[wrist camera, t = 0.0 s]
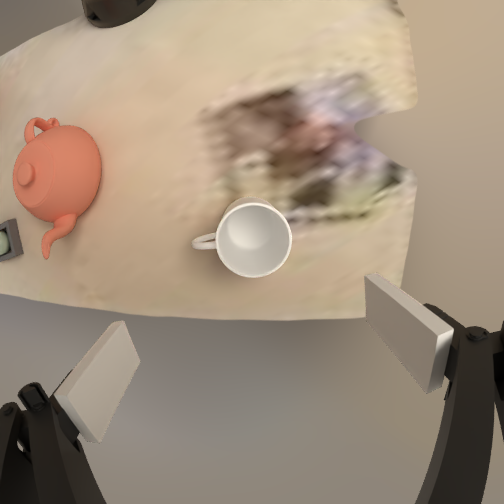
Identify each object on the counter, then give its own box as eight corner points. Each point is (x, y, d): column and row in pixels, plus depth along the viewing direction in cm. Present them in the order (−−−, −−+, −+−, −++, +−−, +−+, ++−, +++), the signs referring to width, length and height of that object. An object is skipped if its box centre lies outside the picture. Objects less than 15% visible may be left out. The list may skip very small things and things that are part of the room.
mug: (202, 257, 42) (187, 284, 30) (196, 200, 40) (178, 206, 28) (281, 251, 42) (295, 277, 30) (277, 194, 40) (292, 197, 28)
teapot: (125, 227, 40) (85, 243, 28) (57, 253, 41) (13, 273, 29) (96, 102, 35) (55, 81, 23) (32, 141, 36) (-13, 136, 24)
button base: (-2, 227, 39) (-10, 229, 36) (15, 218, 39) (7, 220, 36) (5, 259, 40) (-2, 262, 38) (23, 253, 40) (15, 256, 38)
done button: (-3, 233, 37) (-13, 236, 34) (8, 228, 37) (-2, 230, 34) (2, 254, 38) (-8, 257, 35) (13, 250, 38) (3, 253, 35)
